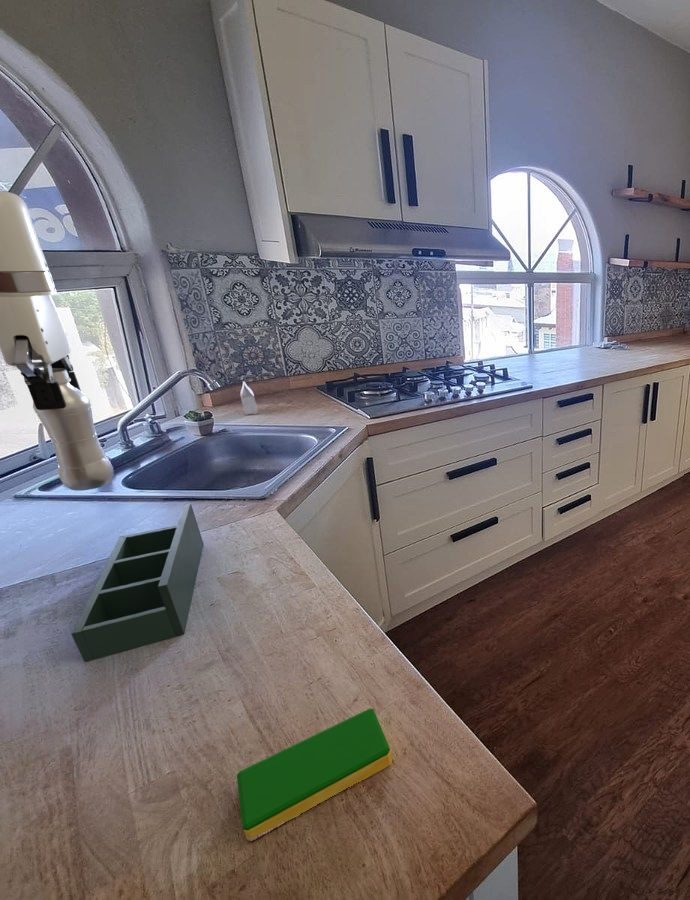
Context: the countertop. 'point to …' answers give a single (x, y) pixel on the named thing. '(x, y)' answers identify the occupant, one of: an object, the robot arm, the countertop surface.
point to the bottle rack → (142, 590)
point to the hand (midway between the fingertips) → (60, 401)
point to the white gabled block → (248, 400)
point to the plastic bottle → (75, 439)
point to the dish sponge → (311, 772)
